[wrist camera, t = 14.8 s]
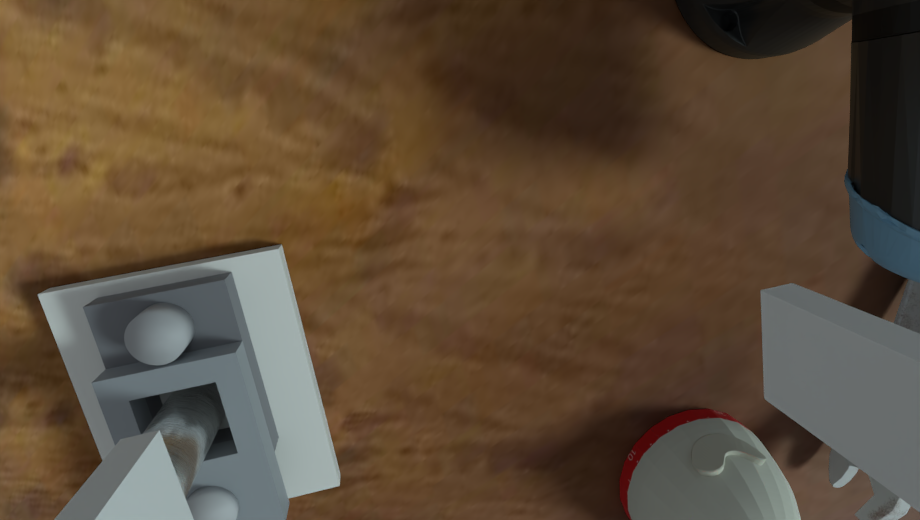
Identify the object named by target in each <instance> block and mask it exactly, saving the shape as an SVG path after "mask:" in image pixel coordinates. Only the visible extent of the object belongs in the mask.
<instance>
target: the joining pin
mask: <svg viewBox="0 0 920 520" xmlns="http://www.w3.org/2000/svg"><path fill="white" fill-rule="evenodd" d="M225 415H226V413H225V410H224V407H223V404H222V400H221V397H220V394H219V391H218V388H217V384H216V382H214V383H209V384H205V385H200V386H196V387H191V388H186V389H182V390H177V391H173V392H172V393H171V395H170V396H169V398H168V399H167V400H166V402H165V403H164V404H163V406H162V407H161V409H160V410H159V411H158V413H157V414H156V416H155V417H154V418H153V420H152V421H151V422H150V424H149V425H148V427H147V428H146V429H145V431H144V432H143V434H145V433H149V432H154V431H158V430H160V433H161V436H162V438H163V441H164V443H165V446H166V449H167V451H168V454H169V456H170V459H171V462H172V464H173V467H174V469H175V472H176V475H177V477H178V480H179V482H180V485H181V488H182V490H183V493H184V495H185V498H186V496H187V494H188V492H189V490H190V488H191V486H192V483H193V481H194V479H195V477H196V475H197V473H198V471H199V469H200V467H201V465H202V463H203V461H204V459H205V457H206V454H207V452H208V450H209V448H210V446H211V444H212V442H213V440H214V438H215V436H216V434H217V432H218V430H219V428H220V425H221V423H222V421H223V419H224V417H225Z"/></svg>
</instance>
